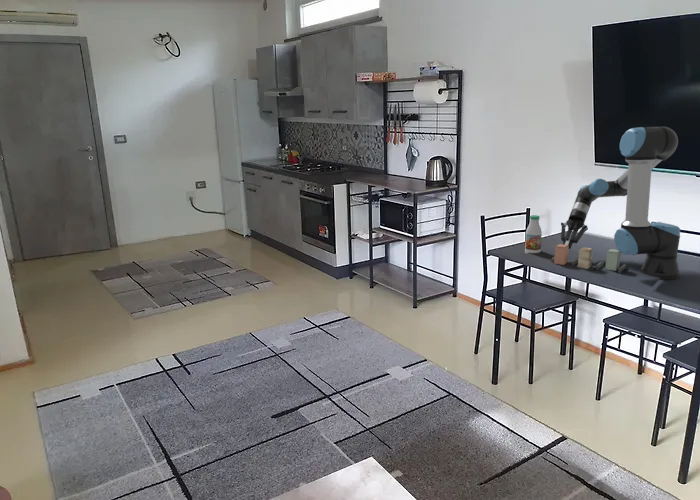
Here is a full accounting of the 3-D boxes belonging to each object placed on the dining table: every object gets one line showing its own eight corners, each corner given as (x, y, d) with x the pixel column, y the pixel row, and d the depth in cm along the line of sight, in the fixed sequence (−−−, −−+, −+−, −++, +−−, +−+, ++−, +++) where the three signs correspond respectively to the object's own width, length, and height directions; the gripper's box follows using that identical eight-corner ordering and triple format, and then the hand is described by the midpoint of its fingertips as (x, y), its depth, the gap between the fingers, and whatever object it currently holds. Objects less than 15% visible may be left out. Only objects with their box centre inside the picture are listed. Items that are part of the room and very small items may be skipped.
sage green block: (608, 266, 251) (610, 248, 249) (619, 268, 248) (621, 250, 246) (605, 269, 247) (607, 251, 245) (615, 270, 244) (617, 252, 242)
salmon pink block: (558, 261, 262) (559, 243, 260) (567, 262, 259) (568, 245, 257) (554, 263, 258) (555, 246, 256) (563, 265, 255) (565, 247, 253)
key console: (558, 259, 268) (558, 253, 268) (625, 270, 249) (626, 264, 248) (550, 264, 261) (550, 258, 260) (619, 275, 241) (620, 269, 241)
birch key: (581, 264, 255) (582, 247, 253) (591, 266, 252) (592, 248, 250) (577, 267, 251) (579, 249, 249) (587, 268, 248) (589, 250, 246)
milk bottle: (521, 252, 283) (523, 215, 278) (534, 251, 285) (536, 213, 280) (530, 256, 276) (532, 217, 271) (543, 254, 278) (545, 216, 273)
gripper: (593, 219, 267) (579, 259, 259) (567, 216, 275) (552, 255, 267) (591, 210, 261) (576, 251, 254) (564, 208, 270) (548, 247, 262)
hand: (564, 253), depth 261 cm, fingers closed
